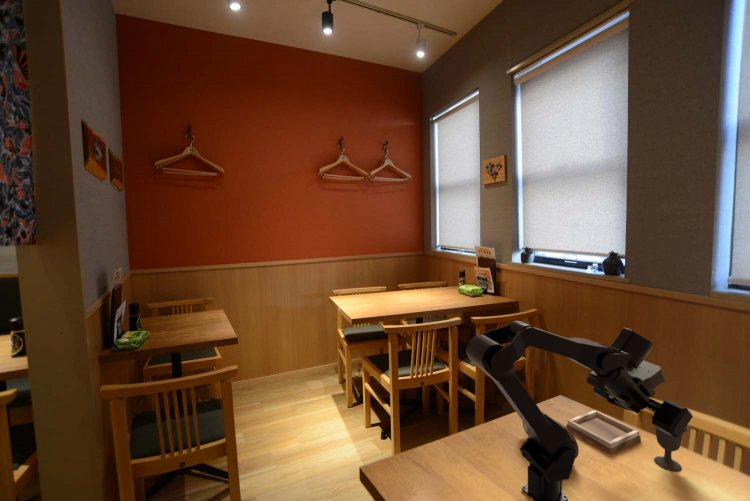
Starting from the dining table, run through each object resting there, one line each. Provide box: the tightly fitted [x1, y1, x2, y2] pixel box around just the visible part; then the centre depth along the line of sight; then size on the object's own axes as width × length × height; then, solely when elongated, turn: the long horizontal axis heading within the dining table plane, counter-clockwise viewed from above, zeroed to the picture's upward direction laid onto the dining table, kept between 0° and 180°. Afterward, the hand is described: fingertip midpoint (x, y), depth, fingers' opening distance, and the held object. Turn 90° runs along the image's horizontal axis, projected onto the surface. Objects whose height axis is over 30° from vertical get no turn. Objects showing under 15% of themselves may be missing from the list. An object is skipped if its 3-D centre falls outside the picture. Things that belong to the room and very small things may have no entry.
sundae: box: [650, 412, 689, 472], centre depth 80 cm, size 7×7×15 cm
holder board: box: [565, 409, 642, 455], centre depth 93 cm, size 12×12×2 cm
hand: (657, 421), depth 79 cm, fingers open, 9 cm apart
